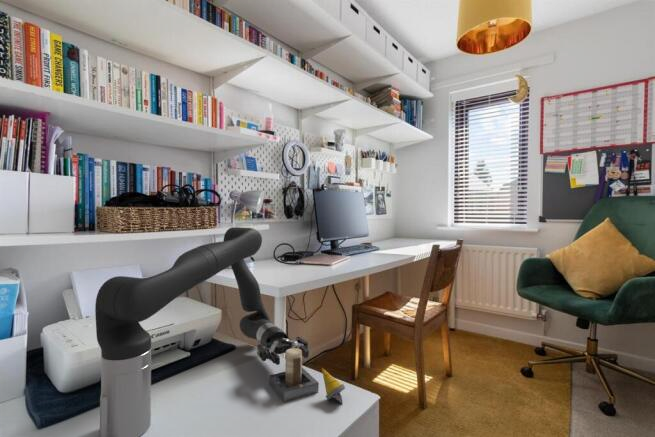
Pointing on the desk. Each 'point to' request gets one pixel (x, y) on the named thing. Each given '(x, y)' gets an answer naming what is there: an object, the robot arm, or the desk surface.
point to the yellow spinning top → (332, 387)
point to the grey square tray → (295, 391)
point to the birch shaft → (293, 367)
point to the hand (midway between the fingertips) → (293, 357)
